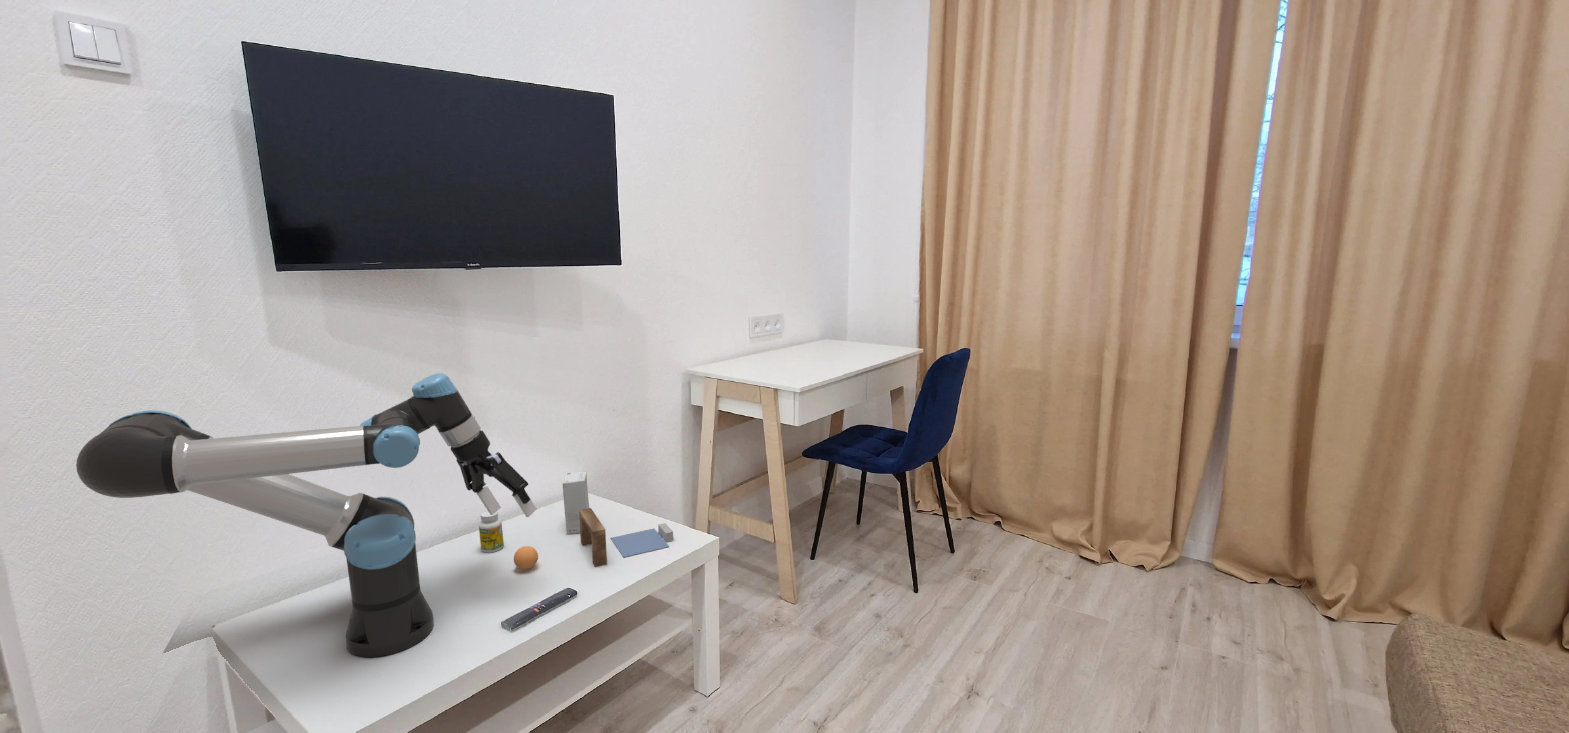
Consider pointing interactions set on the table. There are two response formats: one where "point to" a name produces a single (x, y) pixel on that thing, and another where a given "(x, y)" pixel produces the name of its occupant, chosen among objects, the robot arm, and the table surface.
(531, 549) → the ball
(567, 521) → the skincare box
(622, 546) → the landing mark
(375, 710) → the table surface
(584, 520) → the bridge
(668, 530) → the stopper
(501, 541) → the supplement bottle
